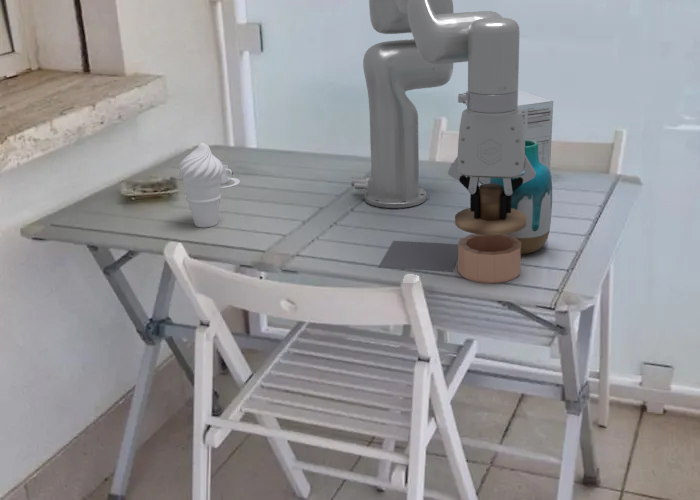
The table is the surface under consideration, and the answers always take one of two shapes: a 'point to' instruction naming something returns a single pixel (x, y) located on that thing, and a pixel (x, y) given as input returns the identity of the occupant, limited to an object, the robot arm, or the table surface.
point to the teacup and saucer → (225, 177)
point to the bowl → (489, 258)
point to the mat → (421, 256)
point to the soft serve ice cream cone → (202, 185)
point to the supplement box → (535, 125)
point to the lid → (490, 215)
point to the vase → (533, 202)
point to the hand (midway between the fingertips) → (490, 215)
